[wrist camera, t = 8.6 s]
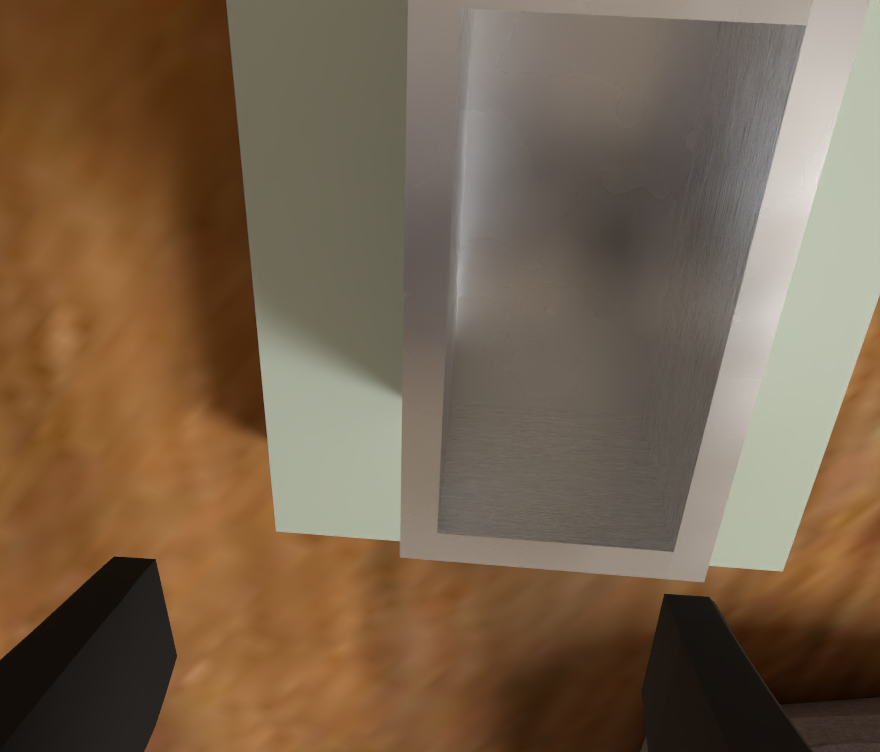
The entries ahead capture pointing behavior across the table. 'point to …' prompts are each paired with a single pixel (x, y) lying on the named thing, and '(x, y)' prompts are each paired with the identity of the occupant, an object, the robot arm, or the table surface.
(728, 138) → the box
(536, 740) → the table surface
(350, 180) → the stand
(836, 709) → the soft grey pack
